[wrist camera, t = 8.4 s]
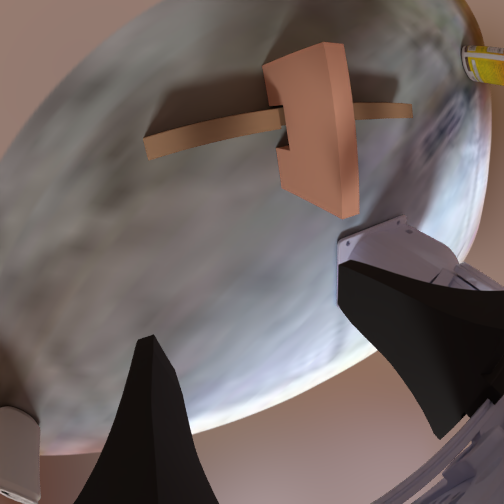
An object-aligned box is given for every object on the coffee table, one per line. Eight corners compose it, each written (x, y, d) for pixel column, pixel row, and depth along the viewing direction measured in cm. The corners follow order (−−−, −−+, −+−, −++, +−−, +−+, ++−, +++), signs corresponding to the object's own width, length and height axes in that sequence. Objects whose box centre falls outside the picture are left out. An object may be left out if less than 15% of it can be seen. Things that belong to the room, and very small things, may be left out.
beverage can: (-8, 396, 16) (-19, 480, 6) (36, 411, 19) (34, 500, 9) (4, 421, 18) (0, 496, 8) (44, 434, 21) (46, 511, 11)
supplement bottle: (474, 87, 23) (532, 99, 14) (459, 68, 21) (524, 77, 12) (475, 58, 21) (530, 66, 12) (459, 37, 19) (521, 43, 10)
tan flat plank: (262, 65, 15) (323, 41, 9) (278, 64, 15) (343, 44, 9) (281, 187, 19) (342, 219, 14) (296, 184, 20) (359, 213, 14)
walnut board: (386, 102, 19) (411, 104, 17) (387, 115, 20) (412, 117, 17) (143, 137, 15) (142, 138, 12) (148, 155, 15) (148, 160, 13)
